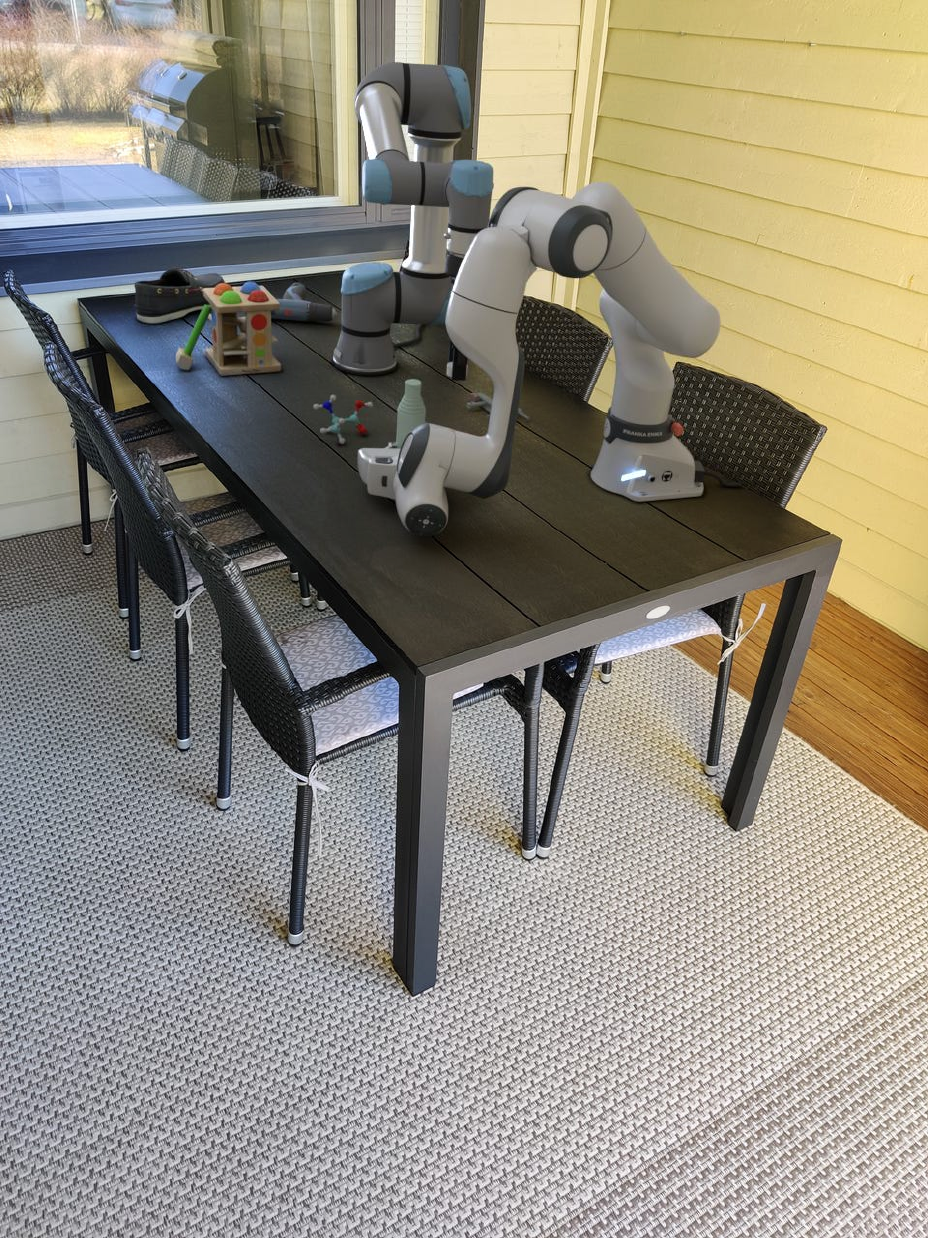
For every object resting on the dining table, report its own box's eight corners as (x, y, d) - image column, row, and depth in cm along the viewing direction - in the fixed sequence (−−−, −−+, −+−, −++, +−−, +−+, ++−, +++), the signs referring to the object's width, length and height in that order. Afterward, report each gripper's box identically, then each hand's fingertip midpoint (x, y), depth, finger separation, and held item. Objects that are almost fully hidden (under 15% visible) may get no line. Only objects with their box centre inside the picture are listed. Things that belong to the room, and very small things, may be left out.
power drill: (344, 304, 276) (335, 327, 259) (277, 298, 275) (264, 321, 258) (344, 285, 273) (335, 306, 256) (277, 279, 272) (264, 300, 255)
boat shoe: (245, 302, 271) (243, 263, 266) (154, 325, 248) (149, 283, 242) (211, 293, 277) (208, 255, 272) (119, 316, 253) (114, 274, 248)
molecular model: (360, 436, 195) (343, 387, 193) (320, 451, 198) (303, 403, 197) (383, 432, 205) (367, 385, 204) (345, 446, 209) (329, 401, 207)
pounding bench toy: (183, 379, 220) (176, 299, 210) (169, 357, 231) (162, 280, 221) (282, 371, 230) (280, 294, 220) (264, 350, 240) (262, 276, 230)
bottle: (394, 471, 192) (398, 376, 181) (420, 472, 192) (427, 377, 181) (394, 483, 187) (399, 386, 176) (421, 484, 188) (428, 388, 177)
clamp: (458, 394, 221) (496, 389, 226) (457, 403, 222) (495, 398, 227) (493, 419, 211) (531, 413, 215) (492, 429, 212) (530, 423, 216)
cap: (442, 373, 194) (442, 363, 193) (457, 369, 196) (458, 360, 195) (455, 379, 191) (456, 369, 190) (471, 376, 194) (472, 366, 193)
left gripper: (439, 240, 187) (431, 360, 200) (453, 264, 173) (444, 391, 186) (477, 242, 189) (467, 360, 202) (495, 266, 175) (483, 391, 188)
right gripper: (475, 463, 176) (464, 431, 187) (360, 461, 172) (356, 429, 183) (471, 495, 179) (461, 462, 190) (359, 494, 176) (355, 460, 187)
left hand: (456, 375), depth 194 cm, fingers closed on cap, 4 cm apart
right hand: (408, 446), depth 187 cm, fingers closed on bottle, 5 cm apart
